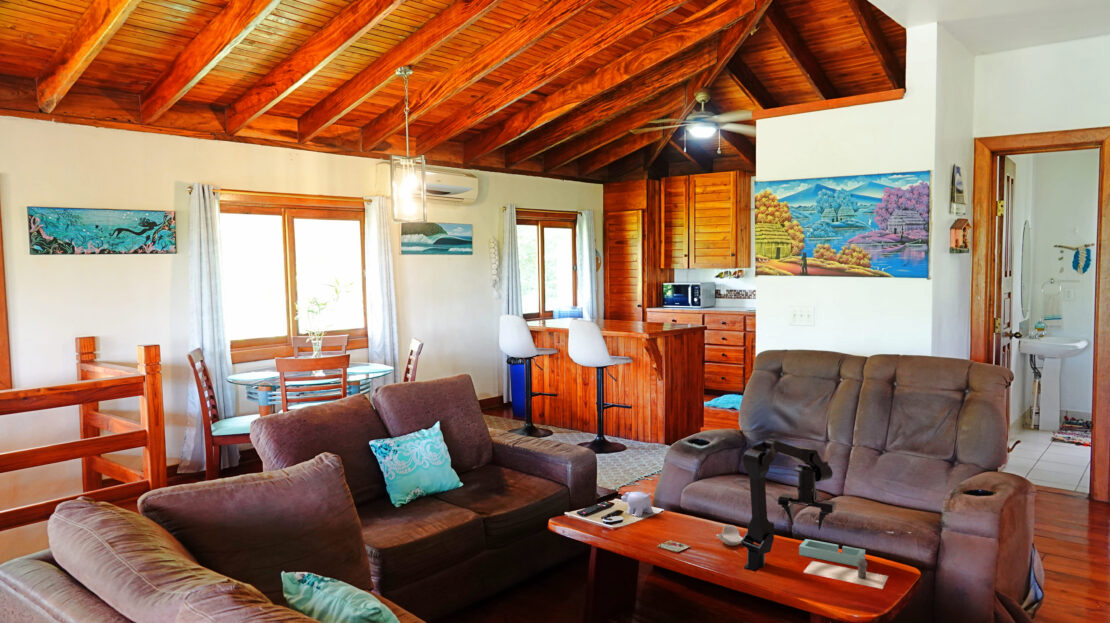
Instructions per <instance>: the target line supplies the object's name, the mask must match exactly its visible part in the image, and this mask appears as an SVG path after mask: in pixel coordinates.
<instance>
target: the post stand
mask: <svg viewBox="0 0 1110 623" xmlns="http://www.w3.org/2000/svg"><path fill="white" fill-rule="evenodd" d="M857 565H858V566H857V569H854V568H849V567H845V566H839V565H834V564H829V563H824V562H820V561H816V560H815V561H814V560H811V561H810V562H809V564H808V566H807V567H806V568H805V569H804V570H803V573H804V574H809V575H814V576H818V577H824V578H828V579H829V578H830V579H833V580H838V581H843V582H847V583H852V584H856V585H857V584H858V585H861V586H866V587H871V588H877V589H881V590H883V589H884V587H885V585H886V582H887V580H888V579H889V575H885V574H880V573H875V572H869V571H867V567H868V562H867V560H866V559H865V560H864V559H859V560H858V561H857Z"/></svg>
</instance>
